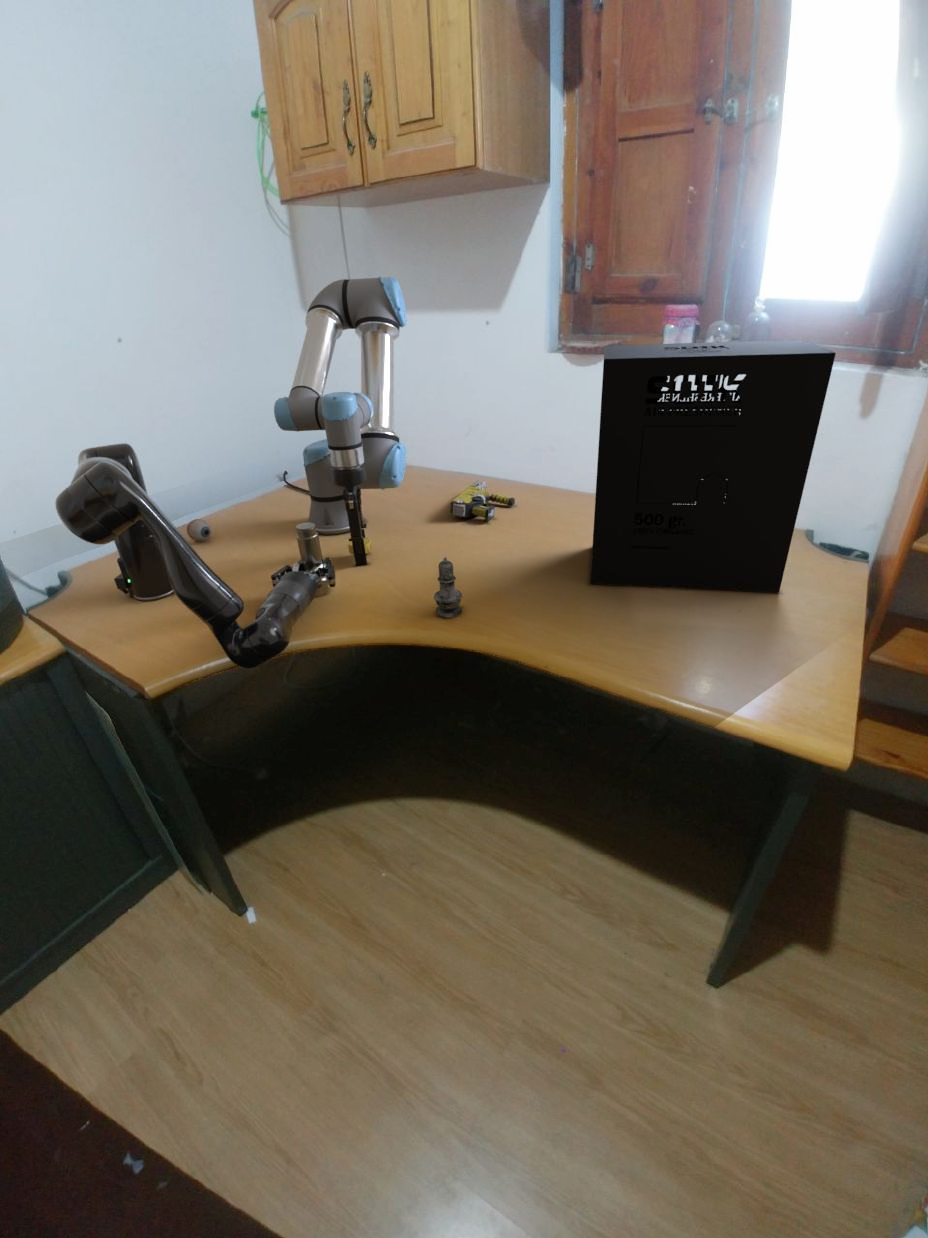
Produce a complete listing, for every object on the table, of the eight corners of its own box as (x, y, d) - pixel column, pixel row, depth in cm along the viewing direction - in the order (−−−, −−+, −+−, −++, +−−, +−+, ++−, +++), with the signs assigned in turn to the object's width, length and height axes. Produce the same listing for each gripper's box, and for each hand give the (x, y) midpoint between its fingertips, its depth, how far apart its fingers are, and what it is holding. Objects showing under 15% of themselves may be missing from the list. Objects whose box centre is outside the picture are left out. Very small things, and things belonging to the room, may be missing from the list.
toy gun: (523, 485, 181) (476, 478, 185) (501, 509, 161) (448, 500, 165) (521, 500, 184) (475, 493, 187) (499, 525, 163) (447, 517, 167)
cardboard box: (758, 552, 140) (802, 339, 117) (778, 592, 123) (835, 352, 100) (592, 546, 147) (604, 345, 125) (590, 583, 130) (603, 358, 108)
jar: (308, 597, 132) (294, 530, 124) (308, 589, 136) (294, 523, 128) (328, 594, 132) (316, 528, 125) (328, 586, 136) (316, 520, 128)
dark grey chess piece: (460, 618, 120) (456, 564, 114) (431, 617, 121) (426, 562, 115) (465, 604, 125) (462, 551, 119) (438, 603, 126) (434, 550, 120)
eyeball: (200, 546, 160) (194, 525, 157) (185, 542, 163) (179, 521, 160) (219, 538, 165) (213, 517, 162) (204, 535, 168) (198, 514, 165)
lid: (363, 544, 150) (361, 535, 149) (376, 550, 147) (375, 541, 146) (344, 551, 147) (343, 542, 146) (357, 556, 143) (356, 548, 142)
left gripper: (322, 580, 116) (346, 545, 131) (251, 580, 117) (282, 545, 132) (328, 614, 120) (351, 576, 134) (260, 614, 121) (289, 576, 136)
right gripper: (334, 456, 144) (348, 546, 156) (328, 478, 128) (344, 576, 140) (365, 454, 145) (377, 543, 156) (363, 475, 129) (376, 573, 140)
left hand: (317, 561), depth 133 cm, fingers closed on jar, 4 cm apart
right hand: (361, 559), depth 148 cm, fingers closed on lid, 5 cm apart
